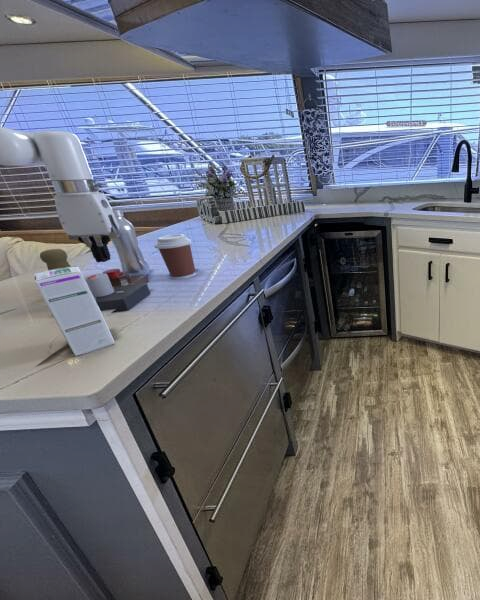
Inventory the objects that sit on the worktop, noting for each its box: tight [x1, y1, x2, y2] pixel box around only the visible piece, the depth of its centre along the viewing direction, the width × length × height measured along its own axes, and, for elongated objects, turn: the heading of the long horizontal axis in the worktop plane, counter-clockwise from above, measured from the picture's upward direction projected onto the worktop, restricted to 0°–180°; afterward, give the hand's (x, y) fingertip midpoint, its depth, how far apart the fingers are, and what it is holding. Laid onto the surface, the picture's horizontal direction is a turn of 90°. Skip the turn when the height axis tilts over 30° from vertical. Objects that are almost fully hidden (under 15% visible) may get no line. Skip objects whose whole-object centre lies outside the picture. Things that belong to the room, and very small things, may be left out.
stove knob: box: [83, 272, 114, 297], centre depth 76 cm, size 4×4×5 cm
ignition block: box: [109, 271, 149, 287], centre depth 88 cm, size 11×9×4 cm
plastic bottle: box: [107, 208, 151, 276], centre depth 95 cm, size 6×7×20 cm
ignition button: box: [102, 268, 122, 278], centre depth 87 cm, size 4×4×2 cm
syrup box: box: [33, 265, 115, 357], centre depth 57 cm, size 6×6×14 cm
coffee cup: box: [154, 233, 197, 280], centre depth 95 cm, size 9×9×12 cm
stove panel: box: [94, 282, 151, 313], centre depth 77 cm, size 14×11×3 cm
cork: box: [39, 248, 72, 271], centre depth 90 cm, size 6×6×11 cm
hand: (103, 260), depth 85 cm, fingers closed
